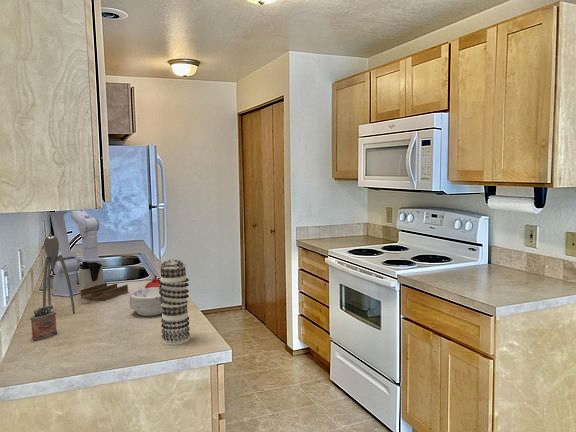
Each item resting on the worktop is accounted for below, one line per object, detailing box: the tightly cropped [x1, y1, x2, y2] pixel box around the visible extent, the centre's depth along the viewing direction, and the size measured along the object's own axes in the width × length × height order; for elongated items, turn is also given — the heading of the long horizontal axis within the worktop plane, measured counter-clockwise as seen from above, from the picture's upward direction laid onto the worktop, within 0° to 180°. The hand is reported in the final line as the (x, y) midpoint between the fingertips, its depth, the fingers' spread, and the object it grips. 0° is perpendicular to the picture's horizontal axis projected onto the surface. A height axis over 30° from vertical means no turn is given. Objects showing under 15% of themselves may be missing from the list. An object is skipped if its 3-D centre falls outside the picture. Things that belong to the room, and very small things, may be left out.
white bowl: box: [129, 287, 163, 317], centre depth 179 cm, size 15×15×8 cm
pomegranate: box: [144, 274, 162, 288], centre depth 201 cm, size 10×10×9 cm
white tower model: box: [158, 259, 191, 346], centre depth 148 cm, size 9×9×25 cm
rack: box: [79, 282, 129, 302], centre depth 205 cm, size 13×14×4 cm
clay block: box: [78, 265, 105, 289], centre depth 195 cm, size 2×10×7 cm, turn 156°
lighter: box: [30, 304, 58, 342], centre depth 154 cm, size 8×3×10 cm, turn 148°
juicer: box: [42, 235, 76, 315], centre depth 177 cm, size 10×11×30 cm
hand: (91, 280), depth 195 cm, fingers closed on clay block, 2 cm apart
